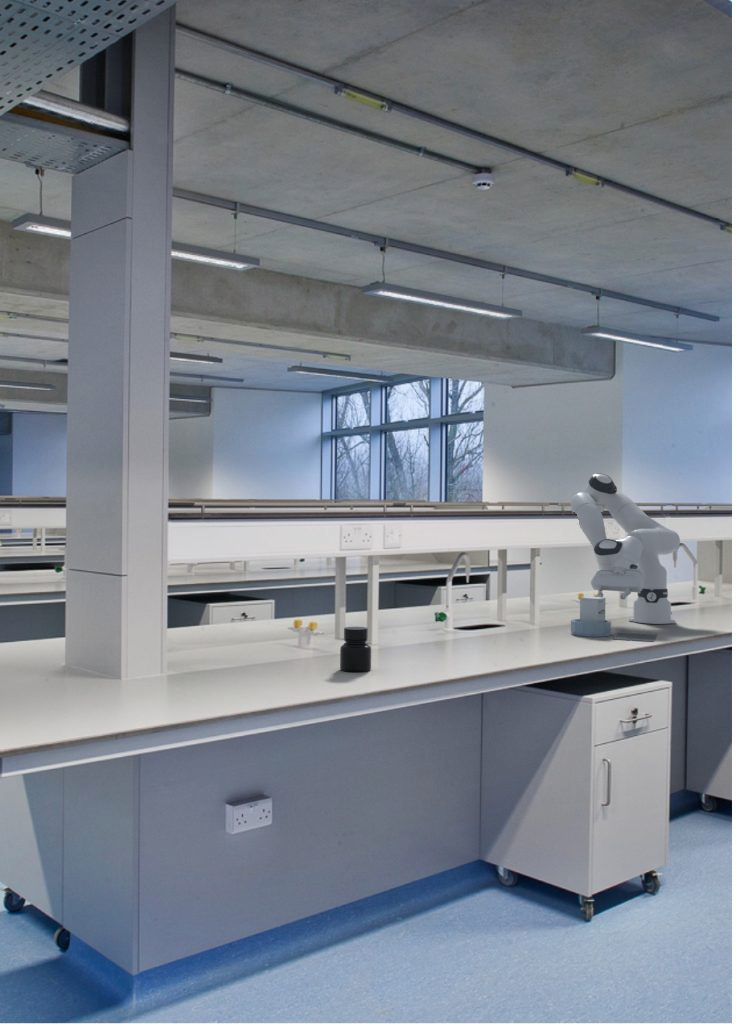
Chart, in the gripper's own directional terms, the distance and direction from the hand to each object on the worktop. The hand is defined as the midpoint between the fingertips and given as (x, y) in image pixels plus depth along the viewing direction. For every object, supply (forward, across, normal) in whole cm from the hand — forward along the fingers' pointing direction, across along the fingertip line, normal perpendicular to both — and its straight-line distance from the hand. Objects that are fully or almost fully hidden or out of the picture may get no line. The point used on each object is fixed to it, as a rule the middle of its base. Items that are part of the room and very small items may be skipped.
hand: (610, 597), depth 358 cm
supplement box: (+17, -2, 0) cm, 17 cm away
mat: (+15, +14, +3) cm, 21 cm away
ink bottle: (+102, -15, -84) cm, 133 cm away
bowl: (+18, -2, 0) cm, 18 cm away
